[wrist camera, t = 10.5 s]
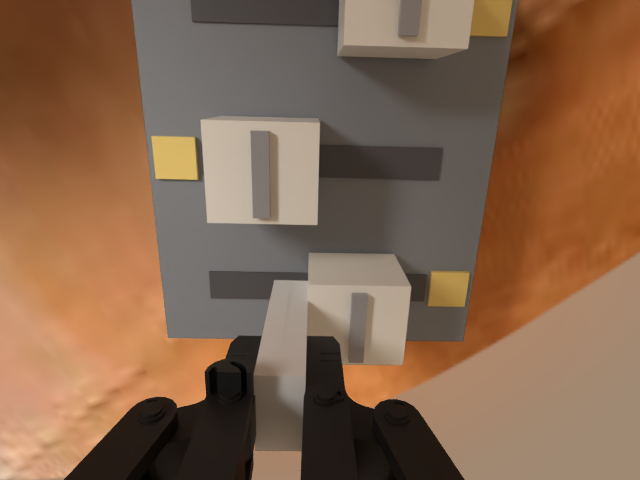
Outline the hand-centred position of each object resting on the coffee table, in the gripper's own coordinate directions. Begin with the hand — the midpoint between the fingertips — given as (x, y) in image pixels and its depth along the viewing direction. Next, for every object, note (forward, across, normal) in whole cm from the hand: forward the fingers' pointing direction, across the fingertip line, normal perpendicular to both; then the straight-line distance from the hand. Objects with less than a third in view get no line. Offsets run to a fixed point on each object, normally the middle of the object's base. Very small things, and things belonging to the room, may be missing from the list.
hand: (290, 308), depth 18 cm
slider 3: (+2, +3, 0) cm, 3 cm away
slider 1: (+2, -1, +6) cm, 6 cm away
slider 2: (+2, +4, +12) cm, 13 cm away
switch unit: (+7, +1, +6) cm, 9 cm away
